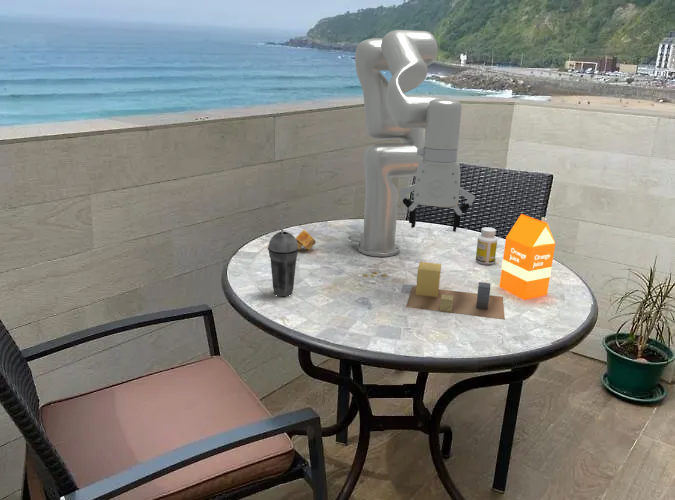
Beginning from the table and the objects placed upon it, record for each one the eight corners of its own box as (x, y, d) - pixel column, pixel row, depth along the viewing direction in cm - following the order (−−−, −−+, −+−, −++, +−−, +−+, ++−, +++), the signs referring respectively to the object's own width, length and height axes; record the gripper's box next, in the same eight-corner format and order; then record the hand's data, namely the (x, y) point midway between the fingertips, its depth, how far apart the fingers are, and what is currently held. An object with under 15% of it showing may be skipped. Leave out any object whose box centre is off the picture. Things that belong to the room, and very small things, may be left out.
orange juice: (523, 304, 141) (535, 225, 135) (498, 291, 149) (508, 215, 142) (547, 299, 145) (560, 221, 138) (521, 286, 152) (532, 211, 145)
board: (405, 311, 135) (406, 307, 135) (411, 290, 147) (412, 285, 147) (504, 324, 131) (504, 319, 130) (502, 301, 143) (502, 296, 142)
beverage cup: (302, 290, 145) (304, 212, 138) (291, 301, 138) (291, 220, 132) (275, 285, 147) (275, 208, 140) (263, 296, 140) (262, 216, 134)
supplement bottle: (493, 259, 171) (497, 227, 168) (495, 265, 166) (500, 232, 163) (474, 257, 172) (478, 225, 168) (476, 264, 166) (480, 231, 163)
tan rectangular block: (415, 294, 142) (417, 269, 139) (417, 286, 146) (419, 261, 144) (437, 297, 141) (439, 271, 138) (438, 288, 145) (441, 264, 143)
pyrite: (297, 254, 169) (301, 258, 173) (313, 238, 169) (317, 241, 173) (286, 243, 171) (290, 247, 175) (301, 227, 171) (305, 231, 175)
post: (476, 308, 135) (478, 286, 134) (476, 303, 138) (478, 282, 136) (487, 309, 135) (490, 287, 133) (487, 305, 137) (490, 283, 135)
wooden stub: (439, 310, 133) (441, 298, 132) (440, 306, 136) (441, 294, 135) (451, 312, 133) (452, 300, 132) (452, 307, 135) (453, 295, 134)
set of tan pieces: (361, 282, 153) (361, 275, 152) (373, 277, 156) (373, 270, 156) (376, 287, 150) (376, 280, 149) (388, 282, 153) (388, 275, 153)
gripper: (399, 155, 131) (395, 229, 136) (479, 161, 127) (471, 236, 133) (403, 150, 138) (399, 220, 143) (479, 155, 134) (471, 227, 140)
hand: (433, 228), depth 138 cm, fingers open, 9 cm apart
